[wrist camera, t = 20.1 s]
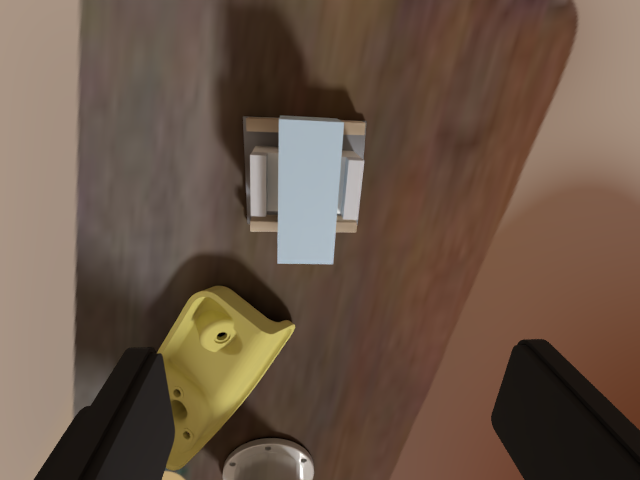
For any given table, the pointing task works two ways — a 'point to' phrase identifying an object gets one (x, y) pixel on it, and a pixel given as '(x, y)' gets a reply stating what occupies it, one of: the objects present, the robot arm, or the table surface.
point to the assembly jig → (267, 134)
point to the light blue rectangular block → (308, 188)
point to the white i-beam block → (267, 182)
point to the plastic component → (215, 364)
